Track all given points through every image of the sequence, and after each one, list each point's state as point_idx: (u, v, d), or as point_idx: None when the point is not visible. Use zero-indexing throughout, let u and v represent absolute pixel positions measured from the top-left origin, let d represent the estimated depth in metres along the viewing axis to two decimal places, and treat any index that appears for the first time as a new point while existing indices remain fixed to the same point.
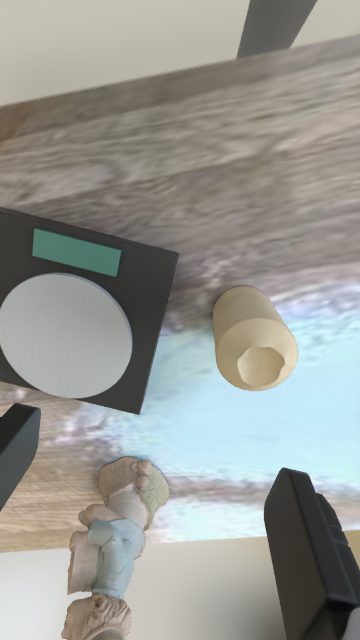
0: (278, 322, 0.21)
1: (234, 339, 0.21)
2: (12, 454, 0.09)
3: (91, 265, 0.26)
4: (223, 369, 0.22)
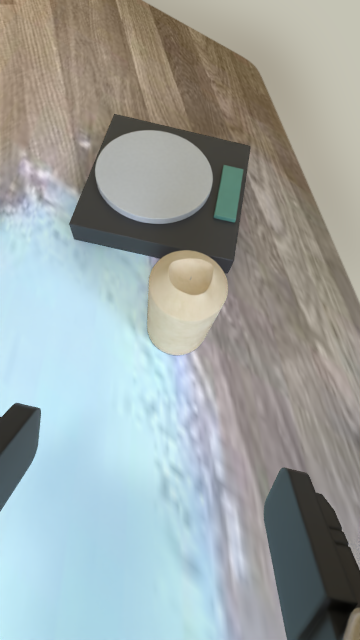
0: (224, 300, 0.22)
1: (209, 259, 0.22)
2: (12, 454, 0.09)
3: (221, 199, 0.33)
4: (175, 253, 0.22)
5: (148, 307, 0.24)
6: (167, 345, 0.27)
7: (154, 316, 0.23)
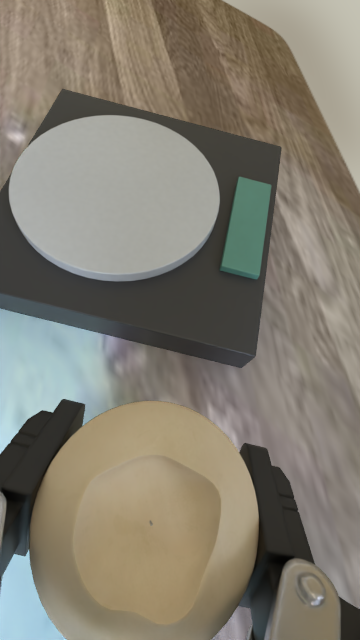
0: None
1: (209, 441, 0.08)
2: None
3: (234, 237, 0.18)
4: (116, 419, 0.08)
5: None
6: None
7: None
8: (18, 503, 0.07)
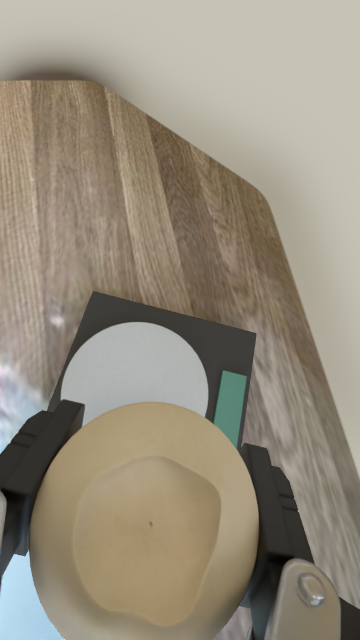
0: None
1: (209, 442, 0.08)
2: None
3: None
4: (115, 420, 0.08)
5: None
6: None
7: None
8: (18, 503, 0.07)
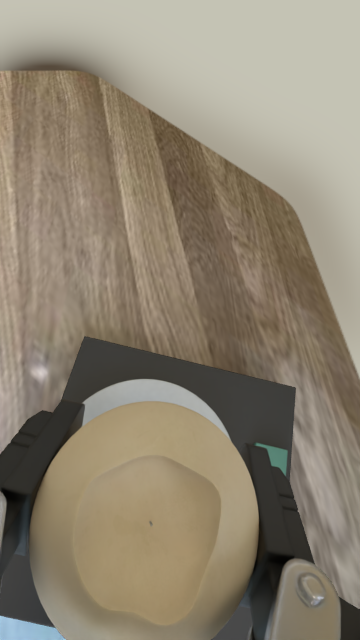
0: None
1: (209, 442, 0.08)
2: None
3: None
4: (115, 420, 0.08)
5: None
6: None
7: None
8: (18, 503, 0.07)
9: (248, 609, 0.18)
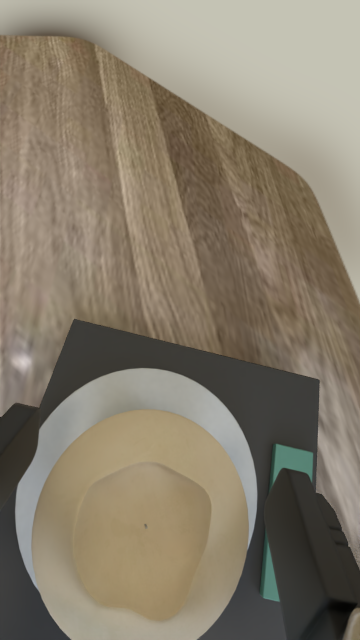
0: None
1: (202, 448, 0.08)
2: (12, 454, 0.09)
3: None
4: (113, 427, 0.09)
5: None
6: None
7: None
8: None
9: None
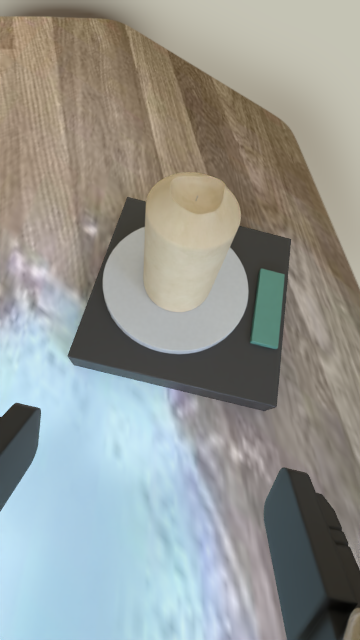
0: None
1: None
2: (12, 454, 0.09)
3: (259, 318, 0.26)
4: (178, 173, 0.19)
5: (144, 244, 0.20)
6: (165, 295, 0.23)
7: (151, 251, 0.19)
8: None
9: (256, 368, 0.25)
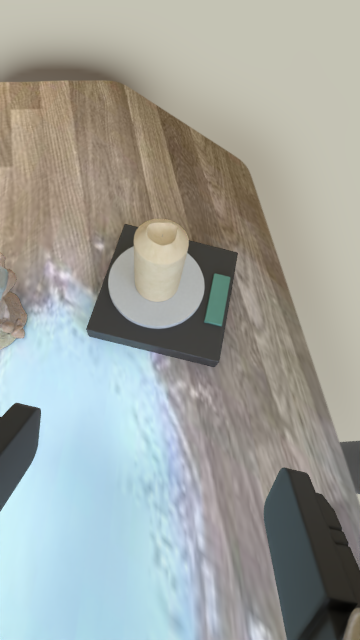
0: (185, 252, 0.32)
1: (176, 224, 0.32)
2: (12, 454, 0.09)
3: (211, 306, 0.40)
4: (152, 219, 0.32)
5: (134, 259, 0.34)
6: (147, 290, 0.36)
7: (137, 264, 0.33)
8: None
9: (207, 338, 0.38)
